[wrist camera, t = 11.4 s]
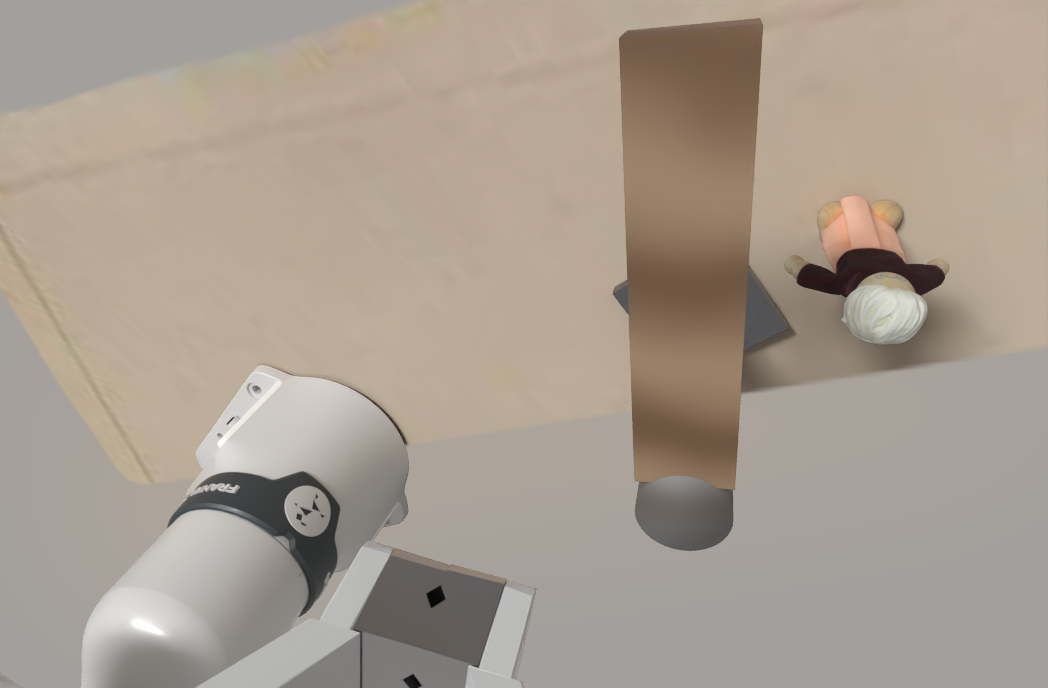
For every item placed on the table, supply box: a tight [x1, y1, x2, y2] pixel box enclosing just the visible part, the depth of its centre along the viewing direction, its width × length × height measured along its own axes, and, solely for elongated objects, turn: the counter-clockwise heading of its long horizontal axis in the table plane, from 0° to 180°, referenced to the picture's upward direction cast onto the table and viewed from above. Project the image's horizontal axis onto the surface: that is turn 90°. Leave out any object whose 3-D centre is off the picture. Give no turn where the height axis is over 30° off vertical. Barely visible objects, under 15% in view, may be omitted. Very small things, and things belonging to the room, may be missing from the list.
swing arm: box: [619, 18, 763, 551], centre depth 25 cm, size 20×4×2 cm, turn 6°
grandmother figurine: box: [784, 196, 949, 345], centre depth 34 cm, size 8×4×13 cm, turn 105°
